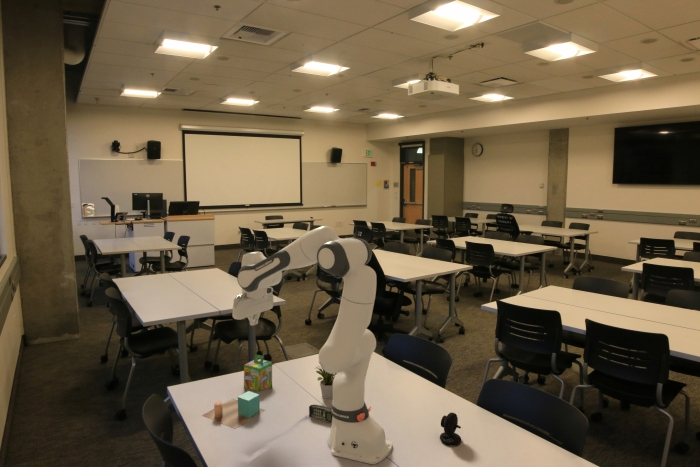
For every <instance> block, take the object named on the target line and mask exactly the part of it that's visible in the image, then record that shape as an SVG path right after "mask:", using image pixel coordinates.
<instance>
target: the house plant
mask: <svg viewBox="0 0 700 467" xmlns="http://www.w3.org/2000/svg"><path fill="white" fill-rule="evenodd" d="M318 364H320V362H319V361H318ZM314 369H315V373H317V374H319V375H320V376H318V377H317V381H318V382H319V386H320V391H321V397H322V399H325V400H331V399H332V400H333V380H334V378H335V376H336V374H337V373H335V374H330V373H328V372H326V371H325V370H324V369H323V368H322V366H321V365H320V366H315V368H314ZM316 369H318V370H316Z"/></svg>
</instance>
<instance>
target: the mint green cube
mask: <svg viewBox="0 0 700 467" xmlns="http://www.w3.org/2000/svg"><path fill="white" fill-rule="evenodd" d="M237 400H238V414H239V415H242V416H244V417H247V418H250V417H252V416H254V415H255V414H257V413H258V412H260V408H261V407H260V403H261V402H260V394H259V393H256V392H253V391H249V390H248V391H246V392H244V393H242V394H240V395H238V396H237Z"/></svg>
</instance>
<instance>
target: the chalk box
mask: <svg viewBox="0 0 700 467" xmlns="http://www.w3.org/2000/svg"><path fill="white" fill-rule="evenodd" d="M243 388H245V389H246V388H247V389H250V390H255V391H257V392H261V391H262V390H264V389H265V388H267V389H270V388H273V362H272V361H269V360H265V359H264V355H260V354H255V355H254V358H253V360H251V361H249V362H247V363H245V364H243Z"/></svg>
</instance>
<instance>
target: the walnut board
mask: <svg viewBox="0 0 700 467" xmlns="http://www.w3.org/2000/svg"><path fill="white" fill-rule="evenodd" d="M222 408H223V416H222V417H221V418H215V414H214V408H213V409H211V410H209V411H208V412H205V413H204V414H202V415H201V416H202V417H205V418H207V419H210V420H212V421H214V422H217V423H219V424H222V425H224V426H227V427H229V428H232V429H235V430H236V429H238V428H239V427H240V426H243V425H244V424H246V423H247V422H249V421H251V420H252V419H254V418H255V417H257V416H259V415H260V414H262V413H263V412H265V411H266V410H265V409H263V408H261V407H260V412H258V413H257V414H255V415H254V416H252V417H250V418H247V417H244V416H242V415H239V414H238V399H236V398H231V399H230V400H228V401H225V402H224V403H222Z"/></svg>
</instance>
